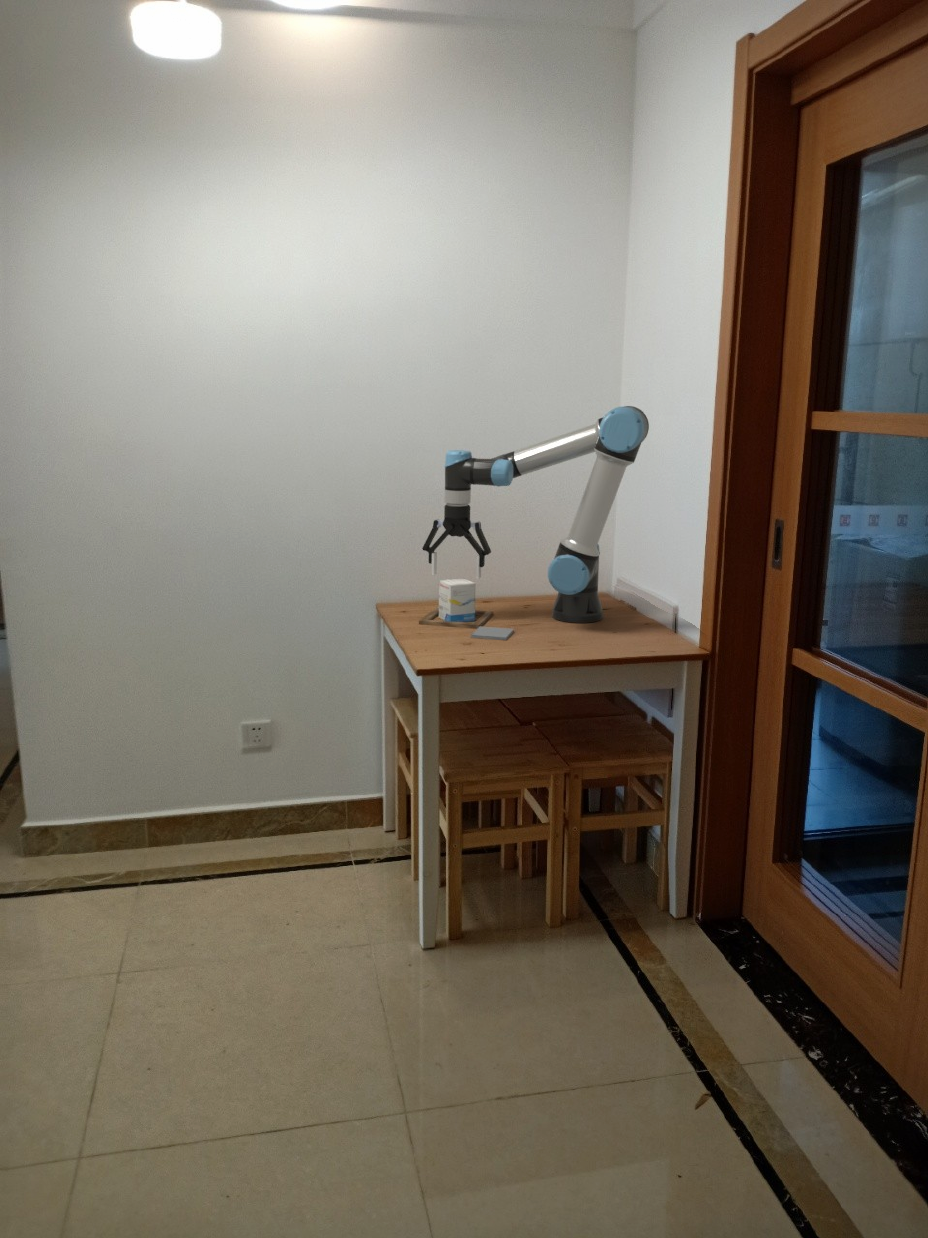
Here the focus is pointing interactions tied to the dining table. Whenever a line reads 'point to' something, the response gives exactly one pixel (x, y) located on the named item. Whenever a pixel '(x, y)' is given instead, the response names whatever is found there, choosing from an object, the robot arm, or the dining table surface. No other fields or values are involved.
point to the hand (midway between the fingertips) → (456, 576)
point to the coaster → (492, 633)
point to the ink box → (457, 600)
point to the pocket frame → (428, 621)
